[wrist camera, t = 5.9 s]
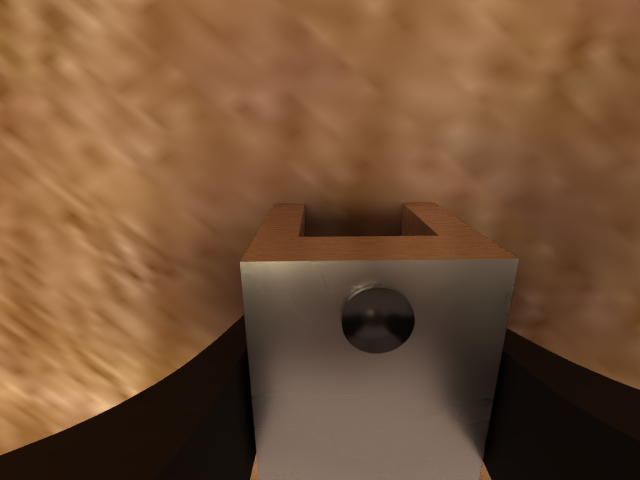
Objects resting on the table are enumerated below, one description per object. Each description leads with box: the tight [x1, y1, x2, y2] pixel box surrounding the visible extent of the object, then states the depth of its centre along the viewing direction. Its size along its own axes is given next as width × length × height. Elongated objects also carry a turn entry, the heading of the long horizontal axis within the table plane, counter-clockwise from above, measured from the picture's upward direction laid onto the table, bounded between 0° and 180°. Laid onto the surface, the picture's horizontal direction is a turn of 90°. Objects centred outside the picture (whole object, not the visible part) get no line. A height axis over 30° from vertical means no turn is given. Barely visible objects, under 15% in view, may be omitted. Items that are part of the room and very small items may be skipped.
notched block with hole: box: [240, 203, 519, 480], centre depth 10 cm, size 5×6×5 cm
